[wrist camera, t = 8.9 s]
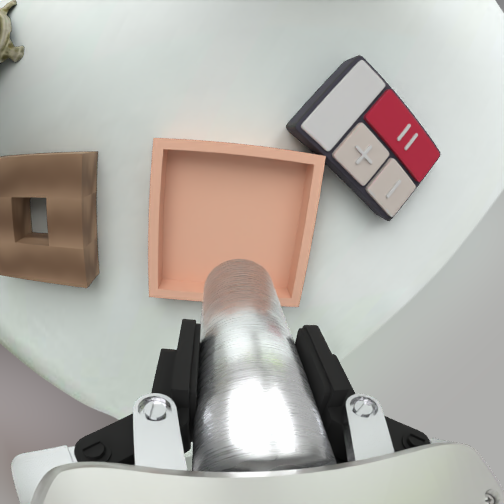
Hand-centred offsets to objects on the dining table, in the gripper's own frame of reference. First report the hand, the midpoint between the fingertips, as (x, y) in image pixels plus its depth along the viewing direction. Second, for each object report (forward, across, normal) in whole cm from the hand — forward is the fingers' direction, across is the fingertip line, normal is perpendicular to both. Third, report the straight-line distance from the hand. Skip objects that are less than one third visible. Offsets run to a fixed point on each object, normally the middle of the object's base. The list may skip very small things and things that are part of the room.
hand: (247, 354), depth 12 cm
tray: (+22, 0, 0) cm, 22 cm away
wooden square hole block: (+22, +22, 0) cm, 31 cm away
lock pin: (+6, 0, 0) cm, 6 cm away
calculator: (+22, -14, -11) cm, 28 cm away
